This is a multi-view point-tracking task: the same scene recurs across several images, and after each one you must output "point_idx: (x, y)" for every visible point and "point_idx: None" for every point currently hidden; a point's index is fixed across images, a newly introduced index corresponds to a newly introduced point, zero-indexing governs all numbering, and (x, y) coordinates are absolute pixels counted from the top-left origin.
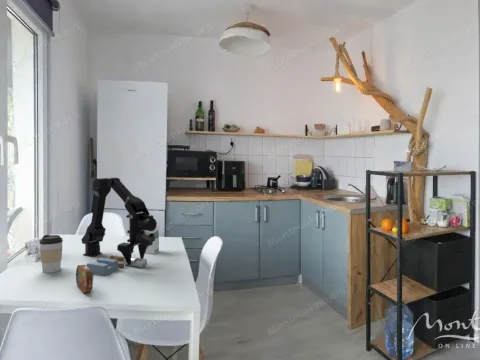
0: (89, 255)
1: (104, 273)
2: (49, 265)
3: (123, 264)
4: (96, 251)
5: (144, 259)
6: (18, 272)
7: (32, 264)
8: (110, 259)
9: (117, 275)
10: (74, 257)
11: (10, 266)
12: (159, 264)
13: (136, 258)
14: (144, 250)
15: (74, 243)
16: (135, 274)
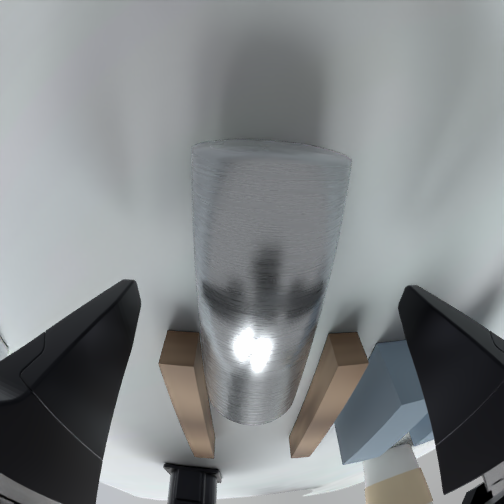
0: (219, 475)
1: None
2: (417, 462)
3: (347, 356)
4: (199, 483)
5: (280, 163)
6: None
7: (342, 481)
8: (379, 435)
9: (493, 261)
10: (252, 480)
11: (360, 482)
12: (80, 53)
13: (280, 327)
14: (53, 366)
15: (149, 488)
16: (480, 135)
